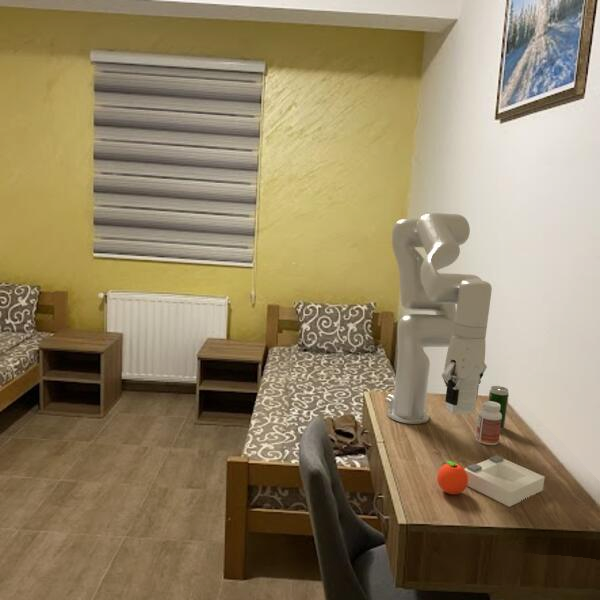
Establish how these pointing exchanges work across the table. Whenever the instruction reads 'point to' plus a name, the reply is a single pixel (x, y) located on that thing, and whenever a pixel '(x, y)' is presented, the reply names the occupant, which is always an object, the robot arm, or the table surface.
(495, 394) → the beer can
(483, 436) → the pill bottle
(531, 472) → the socket plate
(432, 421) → the table surface
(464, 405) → the skincare box
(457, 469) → the clementine
